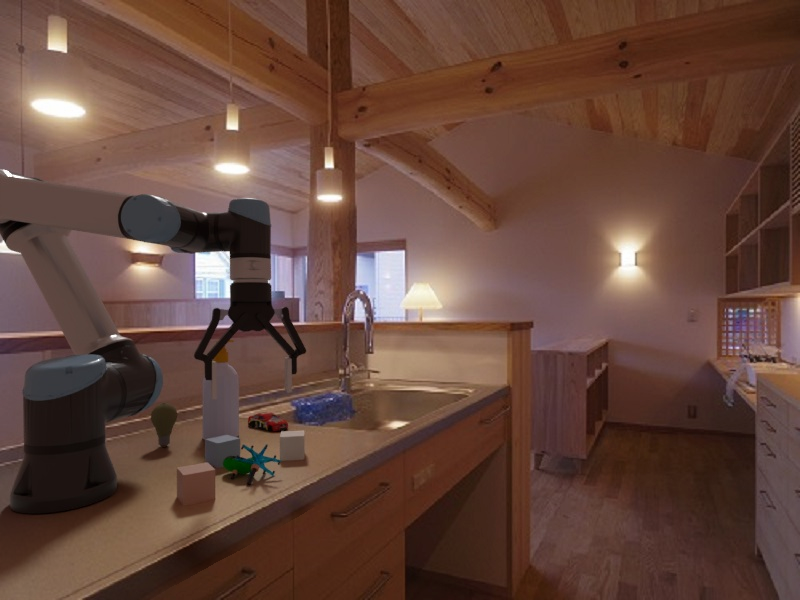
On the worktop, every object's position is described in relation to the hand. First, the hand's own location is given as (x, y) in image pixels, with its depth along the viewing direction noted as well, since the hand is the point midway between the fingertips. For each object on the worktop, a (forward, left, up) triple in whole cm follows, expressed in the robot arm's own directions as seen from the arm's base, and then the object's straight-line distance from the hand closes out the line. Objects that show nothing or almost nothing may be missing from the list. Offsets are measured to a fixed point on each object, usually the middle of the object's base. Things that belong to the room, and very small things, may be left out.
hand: (252, 394), depth 97 cm
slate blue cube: (-4, +12, -16) cm, 20 cm away
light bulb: (-15, +31, -16) cm, 38 cm away
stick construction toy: (-1, 0, -16) cm, 16 cm away
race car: (+10, +40, -16) cm, 44 cm away
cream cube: (+10, +10, -16) cm, 21 cm away
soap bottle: (-2, +35, -16) cm, 38 cm away
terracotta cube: (-10, -7, -16) cm, 20 cm away
